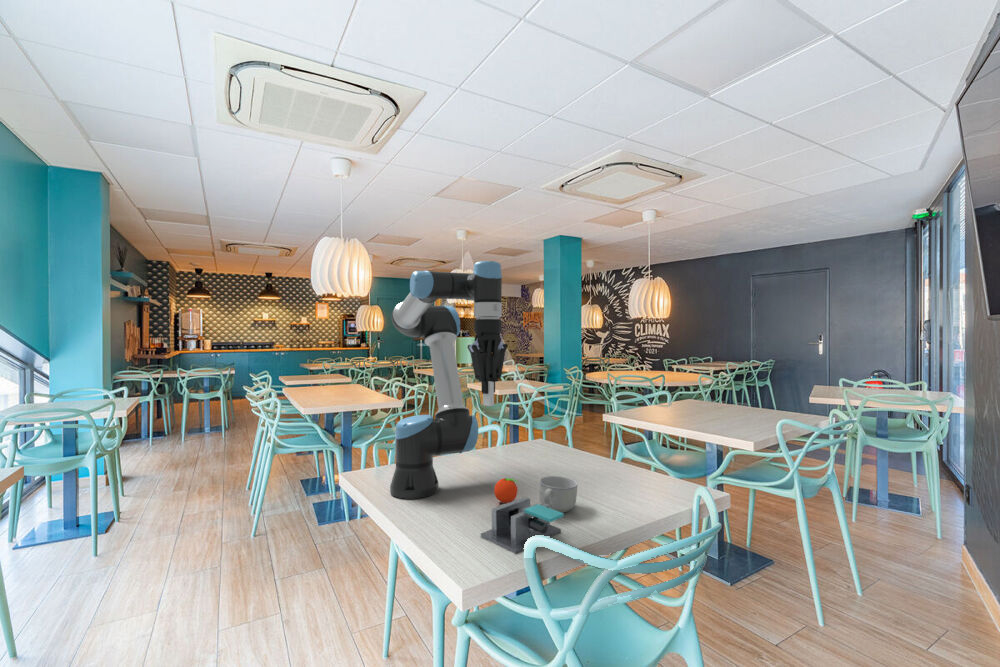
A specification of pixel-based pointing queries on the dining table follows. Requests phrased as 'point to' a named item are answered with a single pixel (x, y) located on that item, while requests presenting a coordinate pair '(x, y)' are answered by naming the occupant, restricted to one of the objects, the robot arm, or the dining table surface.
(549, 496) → the teacup
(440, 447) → the robot arm
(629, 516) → the dining table surface
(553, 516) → the plate
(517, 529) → the bracket
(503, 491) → the clementine
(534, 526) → the pin
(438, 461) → the dining table surface
